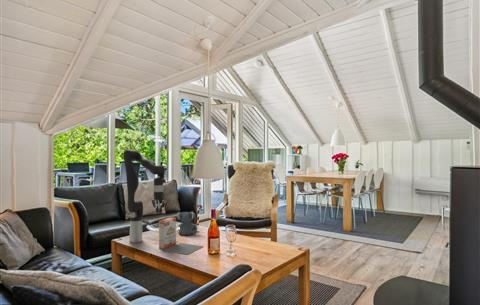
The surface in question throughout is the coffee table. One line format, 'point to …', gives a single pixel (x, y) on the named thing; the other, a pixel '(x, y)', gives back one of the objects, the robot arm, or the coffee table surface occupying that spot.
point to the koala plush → (186, 223)
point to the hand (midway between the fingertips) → (158, 212)
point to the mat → (183, 248)
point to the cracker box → (167, 233)
